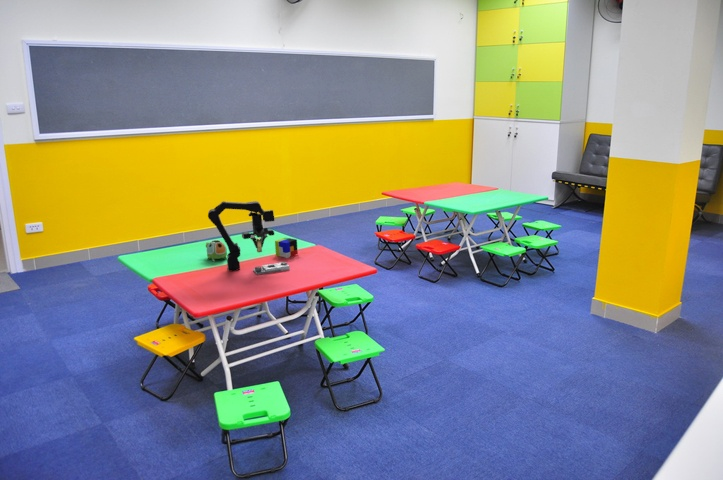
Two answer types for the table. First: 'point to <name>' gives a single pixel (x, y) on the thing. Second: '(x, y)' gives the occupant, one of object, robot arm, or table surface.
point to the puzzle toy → (286, 247)
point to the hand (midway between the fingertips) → (259, 247)
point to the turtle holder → (216, 250)
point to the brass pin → (259, 245)
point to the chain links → (271, 268)
